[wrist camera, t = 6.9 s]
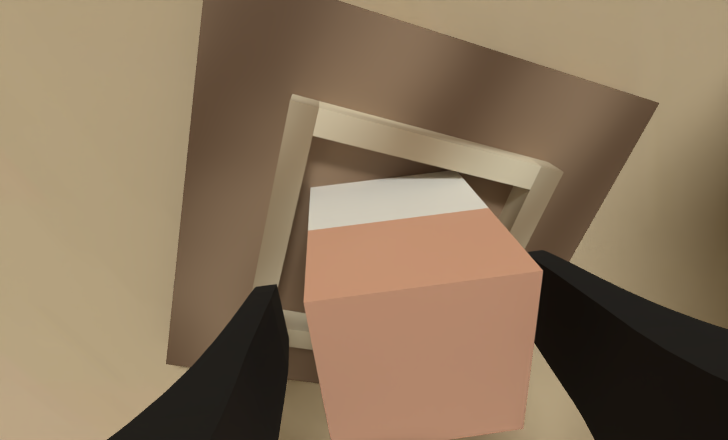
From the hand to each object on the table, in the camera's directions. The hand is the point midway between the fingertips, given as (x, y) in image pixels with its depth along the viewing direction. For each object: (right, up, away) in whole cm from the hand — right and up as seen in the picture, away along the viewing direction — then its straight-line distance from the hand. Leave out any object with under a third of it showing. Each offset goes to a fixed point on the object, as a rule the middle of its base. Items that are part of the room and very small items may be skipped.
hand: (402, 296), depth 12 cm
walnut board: (0, +2, +3) cm, 4 cm away
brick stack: (0, +1, +2) cm, 3 cm away
